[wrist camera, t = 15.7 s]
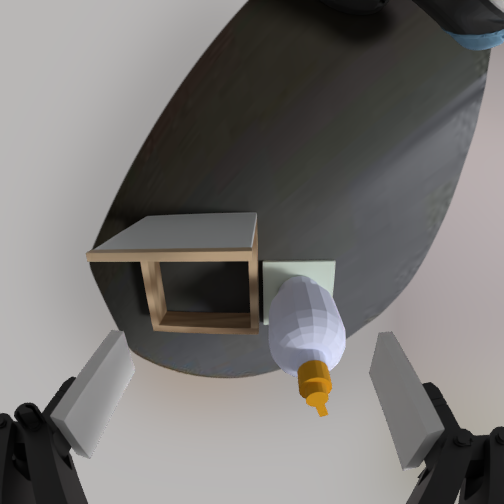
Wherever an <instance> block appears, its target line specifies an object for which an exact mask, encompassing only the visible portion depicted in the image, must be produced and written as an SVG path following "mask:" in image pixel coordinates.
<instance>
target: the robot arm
mask: <svg viewBox="0 0 504 504" xmlns="http://www.w3.org/2000/svg"><path fill="white" fill-rule="evenodd" d="M320 1H321V2H323V3H324V4H326V5H327V6H329V7H331V8H333V9H335V10H338V11H341V12H344V13H348V14H353V15H369V14H373V13H376V12H378V11H380V10H381V9H382V8H383V7H384V6H385V5H386V4H387V3H388V2H389V0H320ZM412 1H413V2H414V3H416V4H417V5H418V6H419V7H420V8H421V9H423V10H424V11H425V12H426V13H427V14H428V15H429V16H430V17H431V18H432V19H434V20H435V21H436V22H437V23H438V24H439V25H440V27H441V28H442V29H443V30H444V31H445V32H446V33H448V34H450V35H451V36H452V37H453V38H454V39H455V40H456V41H457V42H458V43H459V44H460V45H461V46H463V47H465V48H467V49H471V50H484V49H489V48H492V47H495V46H498V45H500V44H502V43H503V41H504V0H412ZM134 372H135V367H134V364H133V361H132V358H131V354H130V351H129V348H128V344H127V341H126V338H125V334H124V331H115V330H112V331H111V332H110V333H109V334H108V336H107V337H106V338H105V340H104V341H103V342H102V344H101V345H100V346H99V348H98V349H97V350H96V352H95V353H94V354H93V356H92V357H91V359H90V360H89V361H88V362H87V364H86V365H85V367H84V368H83V369H82V371H81V372H80V373H79V375H78V376H77V378H76V377H71V378H69V379H68V380H67V381H65V382H64V383H63V384H62V386H61V387H60V388H59V391H57V393H56V394H55V396H54V397H53V398H52V400H51V401H50V402H49V404H48V405H47V407H46V408H45V410H44V411H43V412H42V413H41V412H40V410H39V409H38V407H37V406H36V405H35V404H33V403H24V404H22V405H20V406H19V407H18V408H17V409H16V411H15V413H14V417H15V418H16V420H17V421H18V422H15V421H13V420H12V419H11V417H10V416H9V415H8V414H5V413H1V414H0V504H88V502H87V499H86V497H85V495H84V492H83V489H82V486H81V484H80V481H79V478H78V476H77V472H76V469H75V467H74V463H73V460H72V456H71V455H70V453H69V451H70V449H71V447H72V448H73V450H74V451H75V452H76V454H78V455H81V456H83V457H86V458H89V459H90V458H91V456H92V454H93V452H94V450H95V448H96V446H97V444H98V442H99V440H100V438H101V436H102V434H103V432H104V430H105V428H106V426H107V424H108V422H109V420H110V418H111V416H112V414H113V412H114V410H115V408H116V406H117V404H118V402H119V401H120V399H121V396H122V395H123V393H124V391H125V389H126V387H127V385H128V383H129V381H130V380H131V378H132V376H133V374H134ZM369 374H370V377H371V380H372V382H373V385H374V388H375V390H376V393H377V396H378V398H379V401H380V404H381V406H382V410H383V412H384V415H385V417H386V421H387V424H388V427H389V430H390V432H391V435H392V438H393V441H394V444H395V447H396V450H397V454H398V457H399V460H400V463H401V466H402V469H403V471H405V470H408V469H412V468H416V467H419V466H420V464H421V463H422V462H423V460H424V461H425V463H426V468H425V469H424V470H423V471H422V472H421V474H420V475H419V476H418V478H419V480H418V482H417V484H416V486H415V488H414V490H413V492H412V494H411V496H410V497H409V499H408V501H407V503H406V504H454V503H455V500H456V498H457V495H458V493H459V490H460V496H459V503H458V504H504V427H502V426H501V427H496V428H495V429H493V431H492V432H491V433H490V435H479V436H475V435H473V434H472V433H471V432H470V431H468V430H466V429H461V428H460V427H459V425H458V423H457V421H456V419H455V417H454V415H453V414H452V412H451V410H450V408H449V406H448V405H447V403H446V401H445V399H444V398H443V395H442V394H441V392H440V390H439V388H437V387H436V386H435V385H434V384H433V383H431V382H429V383H424V384H422V383H421V382H420V380H419V378H418V376H417V374H416V372H415V371H414V369H413V367H412V365H411V363H410V362H409V360H408V358H407V356H406V355H405V353H404V351H403V349H402V348H401V346H400V344H399V342H398V341H397V339H396V337H395V336H394V334H393V332H382V333H379V334H378V338H377V343H376V348H375V351H374V356H373V360H372V364H371V367H370V372H369ZM460 488H461V489H460Z"/></svg>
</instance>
